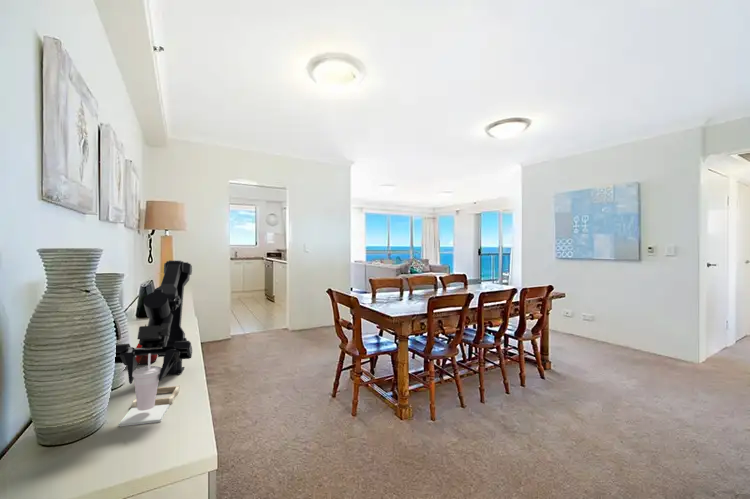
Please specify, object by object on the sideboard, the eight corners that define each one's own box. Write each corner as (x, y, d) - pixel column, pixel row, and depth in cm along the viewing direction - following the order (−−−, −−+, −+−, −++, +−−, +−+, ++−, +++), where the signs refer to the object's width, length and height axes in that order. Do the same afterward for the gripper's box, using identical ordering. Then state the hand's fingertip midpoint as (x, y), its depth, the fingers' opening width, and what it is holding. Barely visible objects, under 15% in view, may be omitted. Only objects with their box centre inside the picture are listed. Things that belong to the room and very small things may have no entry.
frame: (143, 393, 103) (143, 388, 103) (179, 390, 106) (179, 385, 106) (132, 407, 94) (132, 402, 94) (172, 403, 97) (172, 398, 97)
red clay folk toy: (159, 359, 135) (160, 320, 136) (154, 364, 129) (155, 324, 129) (136, 360, 133) (137, 321, 133) (130, 366, 126) (131, 325, 126)
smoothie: (145, 414, 86) (147, 358, 86) (124, 411, 87) (126, 355, 87) (166, 403, 92) (168, 351, 92) (146, 400, 93) (147, 348, 93)
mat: (131, 410, 92) (131, 408, 92) (169, 406, 95) (169, 404, 95) (118, 426, 84) (118, 424, 84) (160, 421, 87) (160, 419, 87)
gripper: (112, 313, 90) (91, 370, 80) (191, 311, 96) (182, 364, 86) (122, 336, 98) (105, 390, 87) (195, 333, 104) (187, 383, 93)
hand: (145, 381), depth 88 cm, fingers closed on smoothie, 6 cm apart
